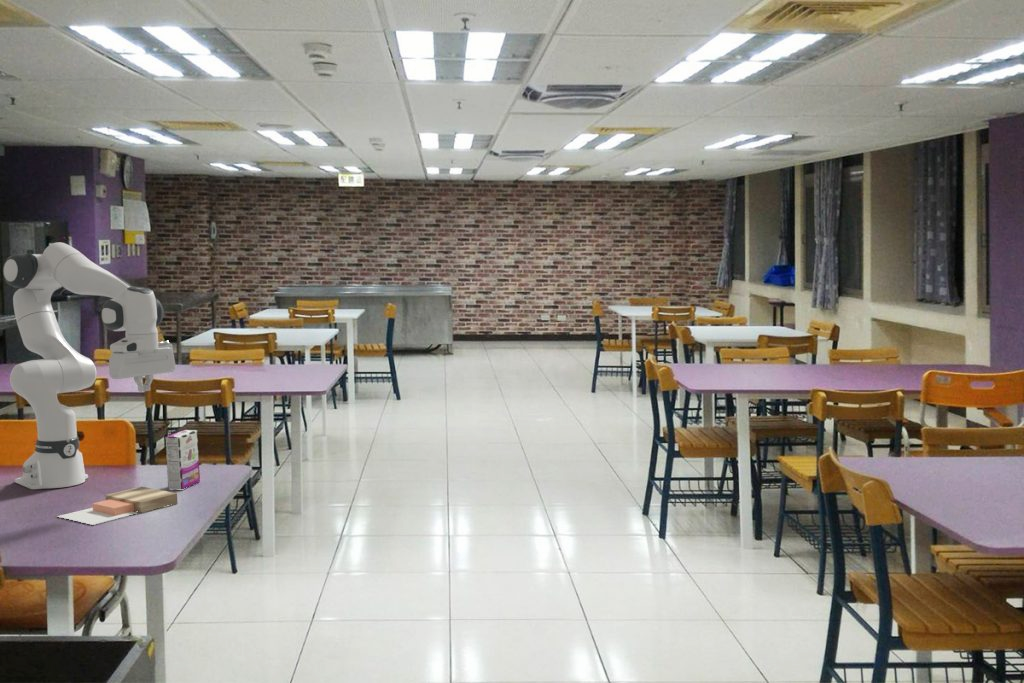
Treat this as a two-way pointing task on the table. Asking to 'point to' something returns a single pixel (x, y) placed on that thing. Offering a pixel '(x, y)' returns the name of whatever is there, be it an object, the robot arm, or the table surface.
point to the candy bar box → (182, 459)
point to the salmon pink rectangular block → (113, 507)
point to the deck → (144, 498)
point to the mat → (93, 516)
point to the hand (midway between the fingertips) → (144, 391)
